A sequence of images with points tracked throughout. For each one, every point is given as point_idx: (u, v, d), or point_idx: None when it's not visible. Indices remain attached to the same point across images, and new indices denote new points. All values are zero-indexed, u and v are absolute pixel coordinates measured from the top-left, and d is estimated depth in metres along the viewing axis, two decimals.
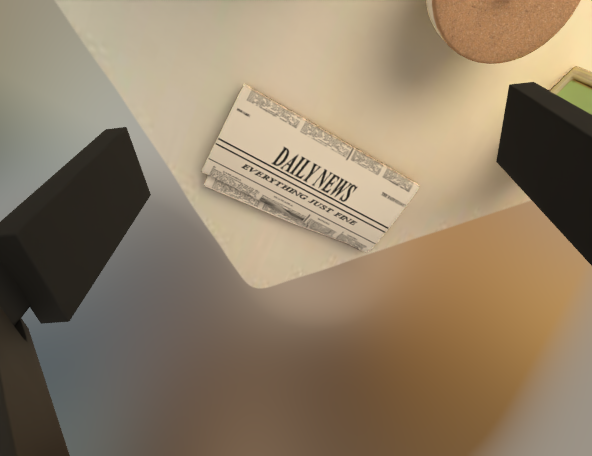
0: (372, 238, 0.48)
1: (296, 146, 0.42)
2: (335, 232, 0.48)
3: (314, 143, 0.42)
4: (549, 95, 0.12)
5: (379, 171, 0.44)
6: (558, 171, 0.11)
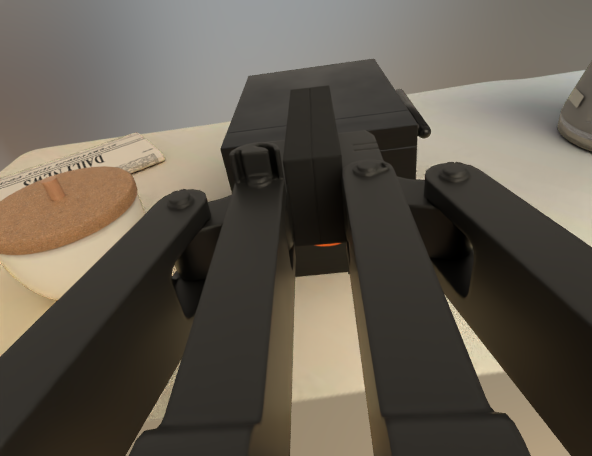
0: None
1: None
2: (7, 176, 0.51)
3: None
4: (325, 96, 0.14)
5: None
6: None
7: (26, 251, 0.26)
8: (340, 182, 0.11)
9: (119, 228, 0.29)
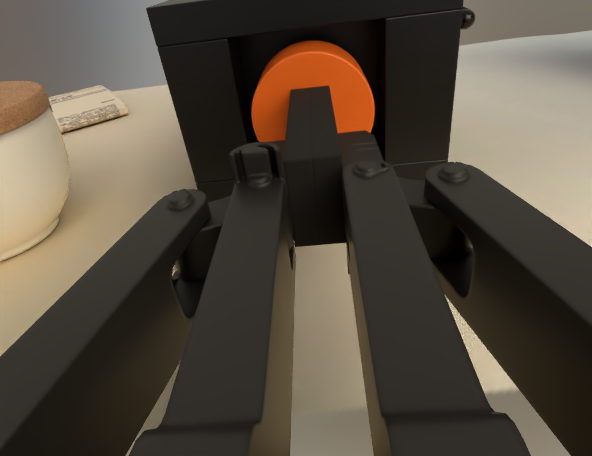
0: None
1: None
2: None
3: None
4: (325, 96, 0.14)
5: None
6: None
7: None
8: (340, 182, 0.11)
9: (5, 150, 0.19)
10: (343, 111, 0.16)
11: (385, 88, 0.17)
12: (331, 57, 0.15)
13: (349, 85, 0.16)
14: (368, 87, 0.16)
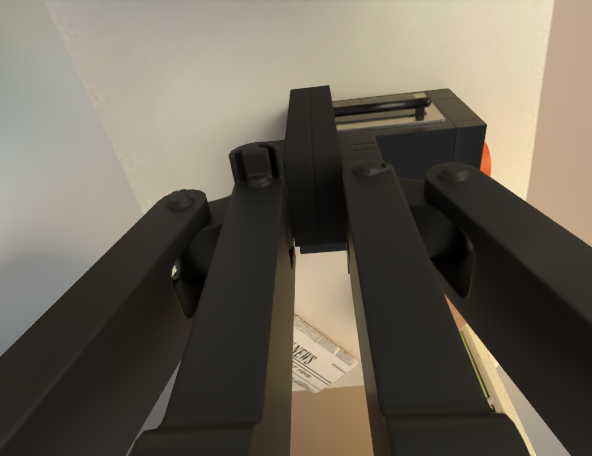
0: (318, 386, 0.69)
1: None
2: (294, 378, 0.68)
3: (296, 330, 0.62)
4: (325, 96, 0.14)
5: (333, 351, 0.65)
6: None
7: None
8: (340, 182, 0.11)
9: None
10: None
11: None
12: (490, 165, 0.39)
13: None
14: (487, 147, 0.39)
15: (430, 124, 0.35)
